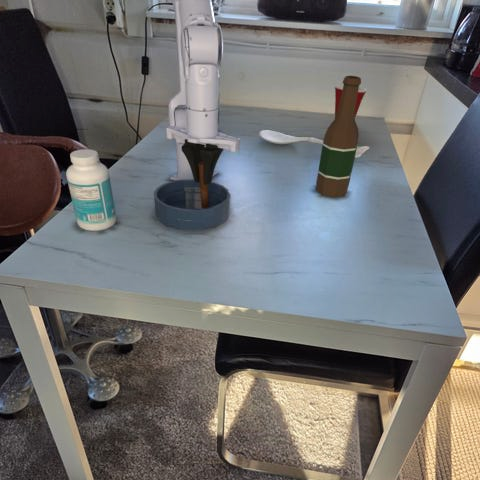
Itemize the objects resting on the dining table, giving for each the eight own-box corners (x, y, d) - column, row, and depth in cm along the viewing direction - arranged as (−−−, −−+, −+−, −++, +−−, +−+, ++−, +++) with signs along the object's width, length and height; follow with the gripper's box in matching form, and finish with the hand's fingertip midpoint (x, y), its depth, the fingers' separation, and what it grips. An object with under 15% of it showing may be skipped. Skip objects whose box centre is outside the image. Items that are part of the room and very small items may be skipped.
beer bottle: (343, 185, 104) (366, 74, 89) (351, 199, 98) (377, 81, 83) (312, 184, 103) (330, 72, 88) (317, 198, 98) (337, 80, 82)
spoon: (357, 166, 115) (360, 153, 112) (253, 143, 126) (254, 130, 124) (367, 157, 121) (370, 145, 119) (267, 135, 132) (268, 123, 130)
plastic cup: (365, 126, 146) (374, 87, 138) (347, 131, 140) (355, 91, 132) (340, 119, 151) (347, 81, 144) (321, 123, 145) (327, 84, 138)
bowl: (180, 193, 96) (179, 173, 93) (241, 208, 91) (242, 188, 88) (140, 220, 85) (138, 198, 82) (207, 238, 81) (207, 217, 78)
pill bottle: (101, 211, 87) (89, 143, 79) (124, 223, 84) (115, 153, 75) (69, 223, 83) (53, 153, 74) (92, 236, 79) (78, 164, 71)
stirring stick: (204, 207, 90) (200, 161, 83) (210, 208, 89) (208, 162, 82) (200, 210, 89) (196, 164, 82) (206, 212, 88) (203, 166, 81)
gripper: (155, 105, 75) (160, 180, 84) (228, 118, 71) (226, 196, 79) (176, 97, 80) (179, 169, 89) (246, 109, 75) (242, 184, 84)
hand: (202, 181), depth 84 cm, fingers closed on stirring stick, 1 cm apart
